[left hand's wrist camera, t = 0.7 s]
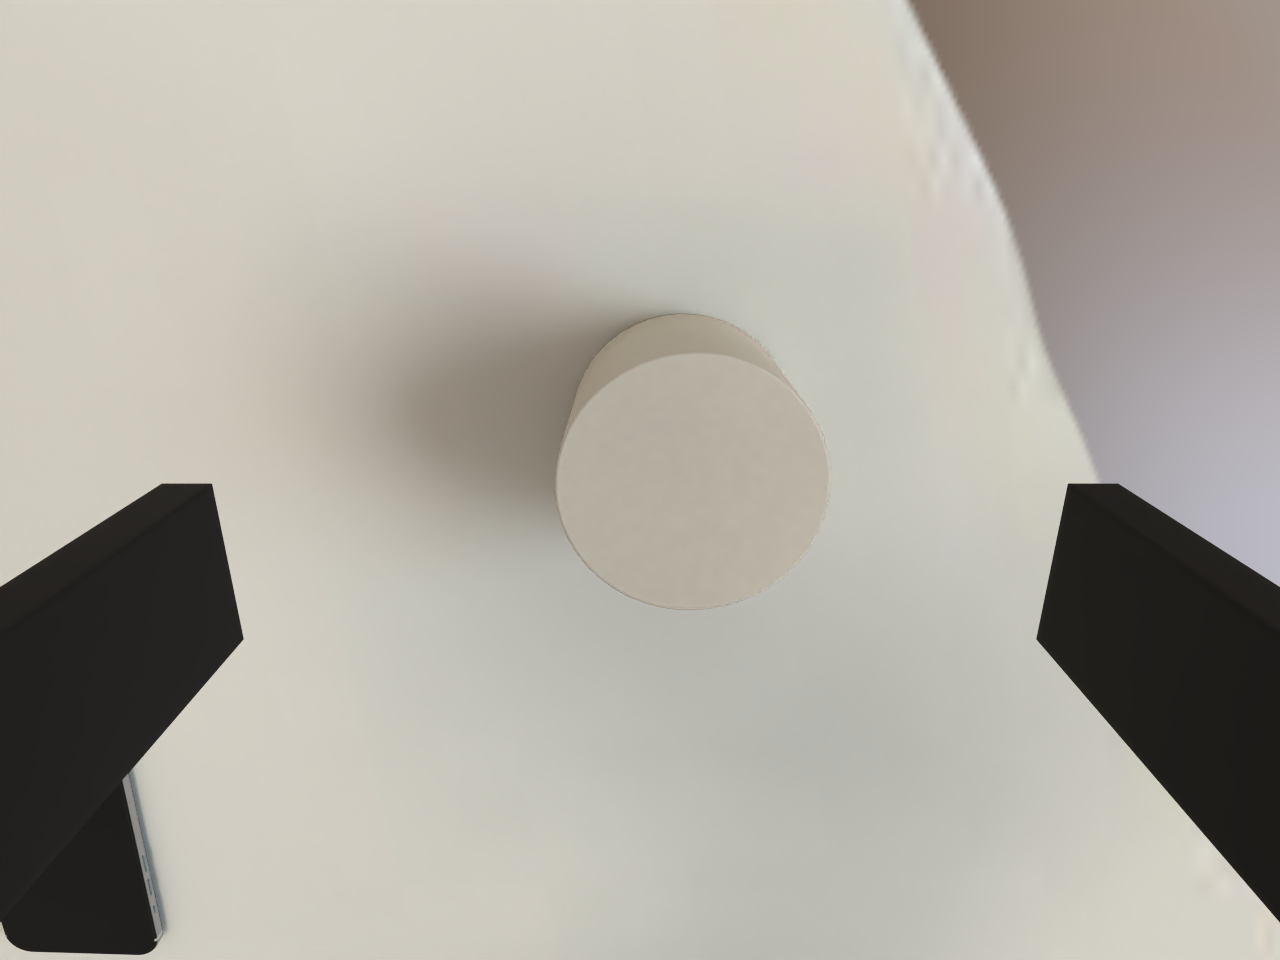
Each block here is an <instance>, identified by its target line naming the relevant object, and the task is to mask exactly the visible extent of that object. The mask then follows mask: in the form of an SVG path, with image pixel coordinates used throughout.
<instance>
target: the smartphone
mask: <svg viewBox="0 0 1280 960" xmlns="http://www.w3.org/2000/svg"><path fill="white" fill-rule="evenodd" d="M1 922H2V925H3V928H4V932H5V935H6V937H7V939H8V940H9V941H10V942H11V943H12V944H13V945H14V946H16V947H18V948H20V949H22V950H26V951H31V952H62V953H95V954H128V955H142V954H146V953H149V952H151V951H152V950H153V949H154V948H155V947H156V945H157V944H158V942H159V941H160V939H161V937H162V934H163V930H162V925H161V920H160V916H159V911H158V907H157V902H156V897H155V893H154V888H153V884H152V879H151V874H150V870H149V865H148V861H147V856H146V851H145V847H144V842H143V838H142V833H141V828H140V824H139V819H138V815H137V810H136V805H135V801H134V796H133V792H132V787H131V782H130V778H129V773H128V774H127V775H126V777H125V778H124V779H123V780H122V781H121V782H120V783H119V785H118V786H117V787H116V788H115V789H114V790H113V792H112V793H111V794H110V795H109V796H108V797H107V799H106V800H105V801H104V802H103V803H102V804H101V806H100V807H99V808H98V809H97V810H96V811H95V813H94V814H93V815H92V816H91V817H90V818H89V820H88V821H87V822H86V823H85V824H84V825H83V827H82V828H81V829H80V830H79V831H78V832H77V834H76V835H75V836H74V837H73V838H72V839H71V840H70V842H69V843H68V844H67V845H66V846H65V847H64V849H63V850H62V851H61V852H60V853H59V854H58V856H57V857H56V858H55V859H54V860H53V861H52V863H51V864H50V865H49V866H48V867H47V868H46V870H45V871H44V872H43V873H42V874H41V875H40V877H39V878H38V879H37V880H36V881H35V882H34V884H33V885H32V886H31V887H30V888H29V889H28V890H27V892H26V893H25V894H24V895H23V896H22V897H21V899H20V900H19V901H18V902H17V903H16V904H15V906H14V907H13V908H12V909H11V910H10V911H9V913H8V914H7V915H6V916H5V917H4V918H3V920H2V921H1Z"/></svg>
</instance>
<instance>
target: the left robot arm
mask: <svg viewBox="0 0 1280 960" xmlns="http://www.w3.org/2000/svg"><path fill="white" fill-rule="evenodd" d="M242 640H243V634H242V629H241V624H240V619H239V614H238V609H237V604H236V600H235V595H234V590H233V585H232V580H231V575H230V570H229V565H228V560H227V555H226V550H225V545H224V541H223V536H222V531H221V526H220V521H219V516H218V511H217V506H216V501H215V496H214V491H213V487H212V484H161V485H159V486H158V487H156V488H154V489H153V490H151V491H150V492H148V493H147V494H145V495H144V496H142V497H140V498H139V499H137V500H136V501H134V502H133V503H131V504H129V505H128V506H126V507H125V508H123V509H122V510H120V511H118V512H117V513H115V514H114V515H112V516H111V517H109V518H108V519H106V520H104V521H103V522H101V523H100V524H98V525H97V526H95V527H93V528H92V529H90V530H89V531H87V532H86V533H84V534H82V535H81V536H79V537H78V538H76V539H75V540H73V541H72V542H70V543H68V544H67V545H65V546H64V547H62V548H61V549H59V550H57V551H56V552H54V553H53V554H51V555H50V556H48V557H47V558H45V559H43V560H42V561H40V562H39V563H37V564H36V565H34V566H32V567H31V568H29V569H28V570H26V571H25V572H23V573H21V574H20V575H18V576H17V577H15V578H14V579H12V580H11V581H9V582H7V583H6V584H4V585H3V586H1V587H0V922H1V921H2V920H3V918H4V917H5V916H6V915H7V914H8V913H9V911H10V910H11V909H12V908H13V907H14V906H15V904H16V903H17V902H18V901H19V900H20V899H21V897H22V896H23V895H24V894H25V893H26V892H27V890H28V889H29V888H30V887H31V886H32V885H33V884H34V882H35V881H36V880H37V879H38V878H39V877H40V875H41V874H42V873H43V872H44V871H45V870H46V868H47V867H48V866H49V865H50V864H51V863H52V861H53V860H54V859H55V858H56V857H57V856H58V854H59V853H60V852H61V851H62V850H63V849H64V847H65V846H66V845H67V844H68V843H69V842H70V840H71V839H72V838H73V837H74V836H75V835H76V834H77V832H78V831H79V830H80V829H81V828H82V827H83V825H84V824H85V823H86V822H87V821H88V820H89V818H90V817H91V816H92V815H93V814H94V813H95V811H96V810H97V809H98V808H99V807H100V806H101V804H102V803H103V802H104V801H105V800H106V799H107V797H108V796H109V795H110V794H111V793H112V792H113V790H114V789H115V788H116V787H117V786H118V785H119V783H120V782H121V781H122V780H123V779H124V778H125V777H126V775H127V774H128V773H129V772H130V771H131V770H132V768H133V767H134V766H135V765H136V764H137V763H138V761H139V760H140V759H141V758H142V757H143V756H144V754H145V753H146V752H147V751H148V750H149V749H150V747H151V746H152V745H153V744H154V743H155V742H156V740H157V739H158V738H159V737H160V736H161V735H162V733H163V732H164V731H165V730H166V729H167V728H168V727H169V725H170V724H171V723H172V722H173V721H174V720H175V718H176V717H177V716H178V715H179V714H180V713H181V711H182V710H183V709H184V708H185V707H186V706H187V704H188V703H189V702H190V701H191V700H192V699H193V697H194V696H195V695H196V694H197V693H198V692H199V690H200V689H201V688H202V687H203V686H204V685H205V683H206V682H207V681H208V680H209V679H210V678H211V676H212V675H213V674H214V673H215V672H216V671H217V670H218V668H219V667H220V666H221V665H222V664H223V663H224V661H225V660H226V659H227V658H228V657H229V656H230V654H231V653H232V652H233V651H234V650H235V649H236V647H237V646H238V645H239V644H240V643H241V642H242ZM1037 640H1038V642H1039V643H1040V644H1041V645H1042V646H1043V647H1044V649H1045V650H1046V651H1047V652H1048V653H1049V654H1050V656H1051V657H1052V658H1053V659H1054V660H1055V661H1056V663H1057V664H1058V665H1059V666H1060V667H1061V668H1062V670H1063V671H1064V672H1065V673H1066V674H1067V675H1068V676H1069V678H1070V679H1071V680H1072V681H1073V682H1074V683H1075V685H1076V686H1077V687H1078V688H1079V689H1080V690H1081V692H1082V693H1083V694H1084V695H1085V696H1086V697H1087V699H1088V700H1089V701H1090V702H1091V703H1092V704H1093V706H1094V707H1095V708H1096V709H1097V710H1098V711H1099V713H1100V714H1101V715H1102V716H1103V717H1104V718H1105V720H1106V721H1107V722H1108V723H1109V724H1110V725H1111V727H1112V728H1113V729H1114V730H1115V731H1116V732H1117V733H1118V735H1119V736H1120V737H1121V738H1122V739H1123V740H1124V742H1125V743H1126V744H1127V745H1128V746H1129V747H1130V749H1131V750H1132V751H1133V752H1134V753H1135V754H1136V756H1137V757H1138V758H1139V759H1140V760H1141V761H1142V763H1143V764H1144V765H1145V766H1146V767H1147V768H1148V770H1149V771H1150V772H1151V773H1152V774H1153V775H1154V777H1155V778H1156V779H1157V780H1158V781H1159V782H1160V783H1161V785H1162V786H1163V787H1164V788H1165V789H1166V790H1167V792H1168V793H1169V794H1170V795H1171V796H1172V797H1173V799H1174V800H1175V801H1176V802H1177V803H1178V804H1179V806H1180V807H1181V808H1182V809H1183V810H1184V811H1185V813H1186V814H1187V815H1188V816H1189V817H1190V818H1191V820H1192V821H1193V822H1194V823H1195V824H1196V825H1197V827H1198V828H1199V829H1200V830H1201V831H1202V832H1203V834H1204V835H1205V836H1206V837H1207V838H1208V839H1209V840H1210V842H1211V843H1212V844H1213V845H1214V846H1215V847H1216V849H1217V850H1218V851H1219V852H1220V853H1221V854H1222V856H1223V857H1224V858H1225V859H1226V860H1227V861H1228V863H1229V864H1230V865H1231V866H1232V867H1233V868H1234V870H1235V871H1236V872H1237V873H1238V874H1239V875H1240V877H1241V878H1242V879H1243V880H1244V881H1245V882H1246V884H1247V885H1248V886H1249V887H1250V888H1251V889H1252V890H1253V892H1254V893H1255V894H1256V895H1257V896H1258V897H1259V899H1260V900H1261V901H1262V902H1263V903H1264V904H1265V906H1266V907H1267V908H1268V909H1269V910H1270V911H1271V913H1272V914H1273V915H1274V916H1275V917H1276V918H1277V920H1278V921H1279V922H1280V587H1279V586H1277V585H1276V584H1274V583H1273V582H1271V581H1269V580H1268V579H1266V578H1265V577H1263V576H1262V575H1260V574H1259V573H1257V572H1255V571H1254V570H1252V569H1251V568H1249V567H1248V566H1246V565H1244V564H1243V563H1241V562H1240V561H1238V560H1237V559H1235V558H1233V557H1232V556H1230V555H1229V554H1227V553H1226V552H1224V551H1223V550H1221V549H1219V548H1218V547H1216V546H1215V545H1213V544H1212V543H1210V542H1208V541H1207V540H1205V539H1204V538H1202V537H1201V536H1199V535H1198V534H1196V533H1194V532H1193V531H1191V530H1190V529H1188V528H1187V527H1185V526H1183V525H1182V524H1180V523H1179V522H1177V521H1176V520H1174V519H1172V518H1171V517H1169V516H1168V515H1166V514H1165V513H1163V512H1161V511H1160V510H1158V509H1157V508H1155V507H1154V506H1152V505H1151V504H1149V503H1147V502H1146V501H1144V500H1143V499H1141V498H1140V497H1138V496H1136V495H1135V494H1133V493H1132V492H1130V491H1129V490H1127V489H1126V488H1124V487H1122V486H1121V485H1119V484H1068V487H1067V491H1066V496H1065V501H1064V506H1063V511H1062V516H1061V521H1060V526H1059V531H1058V536H1057V541H1056V545H1055V550H1054V555H1053V560H1052V565H1051V570H1050V575H1049V580H1048V585H1047V590H1046V595H1045V600H1044V604H1043V609H1042V614H1041V619H1040V624H1039V629H1038V634H1037Z"/></svg>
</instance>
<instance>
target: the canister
mask: <svg viewBox="0 0 1280 960" xmlns="http://www.w3.org/2000/svg"><path fill="white" fill-rule="evenodd" d="M830 486H831V468H830V461H829V455H828V450H827V446H826V443H825V440H824V436H823V434H822V432H821V429H820V427H819V425H818V423H817V421H816V419H815V417H814V416H813V414H812V413H811V411H810V410H809V408H808V406H807V405H806V404H805V402H804V401H803V400H802V398H801V397H800V396H799V394H798V393H797V392H796V390H795V389H794V388H793V386H792V385H791V384H790V382H789V381H788V380H787V378H786V377H785V376H784V374H783V373H782V372H781V370H780V369H779V368H778V366H777V365H776V364H775V362H774V361H773V360H772V358H771V357H770V356H769V355H768V353H767V352H766V351H765V350H764V349H763V348H762V347H761V345H759V344H758V343H757V342H756V341H755V340H754V339H753V338H751V337H750V336H749V335H747V334H746V333H744V332H743V331H741V330H740V329H738V328H737V327H734V326H732V325H730V324H728V323H726V322H724V321H721V320H717V319H714V318H711V317H706V316H701V315H694V314H674V315H665V316H660V317H656V318H651V319H649V320H646V321H643V322H640V323H638V324H636V325H634V326H632V327H630V328H628V329H626V330H624V331H623V332H621V333H620V334H619V335H617V336H616V337H614V338H613V339H612V340H611V341H609V342H608V343H607V344H606V345H605V346H604V347H603V348H602V349H601V350H600V351H599V352H598V354H597V355H596V356H595V357H594V359H593V360H592V361H591V363H590V364H589V366H588V368H587V369H586V371H585V372H584V375H583V377H582V379H581V381H580V384H579V386H578V390H577V393H576V396H575V400H574V403H573V406H572V410H571V413H570V416H569V420H568V423H567V426H566V430H565V433H564V437H563V440H562V443H561V447H560V450H559V454H558V457H557V463H556V470H555V497H556V504H557V510H558V513H559V517H560V520H561V524H562V526H563V529H564V531H565V533H566V536H567V538H568V540H569V542H570V543H571V545H572V546H573V548H574V550H575V551H576V553H577V554H578V556H579V557H580V558H581V559H582V561H583V562H584V563H585V564H586V565H587V567H588V568H589V569H591V570H592V571H593V572H594V573H595V574H596V575H597V576H598V577H599V578H600V579H601V580H603V581H604V582H606V583H607V584H608V585H610V586H611V587H612V588H614V589H616V590H618V591H619V592H621V593H623V594H625V595H626V596H629V597H631V598H633V599H636V600H638V601H641V602H643V603H647V604H651V605H654V606H658V607H663V608H670V609H677V610H700V609H711V608H716V607H721V606H726V605H729V604H732V603H736V602H739V601H742V600H744V599H746V598H749V597H751V596H753V595H755V594H758V593H759V592H761V591H763V590H764V589H766V588H768V587H769V586H771V585H773V584H774V583H775V582H776V581H778V580H779V579H780V578H782V577H783V576H784V575H785V574H787V573H788V572H789V571H790V570H791V569H792V568H793V567H794V566H795V565H796V564H797V563H798V561H799V560H800V559H801V558H802V556H803V555H804V554H805V552H806V551H807V550H808V549H809V547H810V545H811V544H812V542H813V540H814V538H815V537H816V535H817V533H818V531H819V529H820V526H821V524H822V522H823V519H824V516H825V512H826V509H827V505H828V501H829V494H830Z"/></svg>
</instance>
